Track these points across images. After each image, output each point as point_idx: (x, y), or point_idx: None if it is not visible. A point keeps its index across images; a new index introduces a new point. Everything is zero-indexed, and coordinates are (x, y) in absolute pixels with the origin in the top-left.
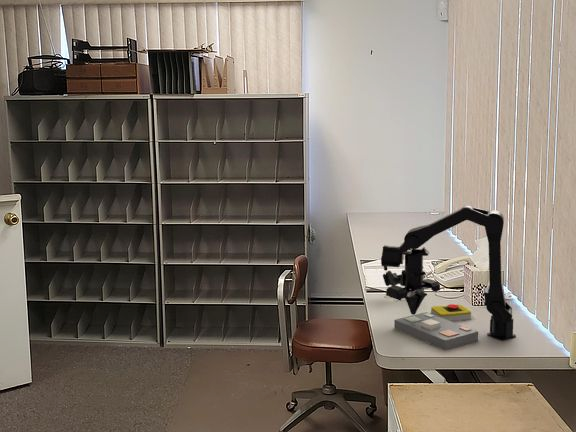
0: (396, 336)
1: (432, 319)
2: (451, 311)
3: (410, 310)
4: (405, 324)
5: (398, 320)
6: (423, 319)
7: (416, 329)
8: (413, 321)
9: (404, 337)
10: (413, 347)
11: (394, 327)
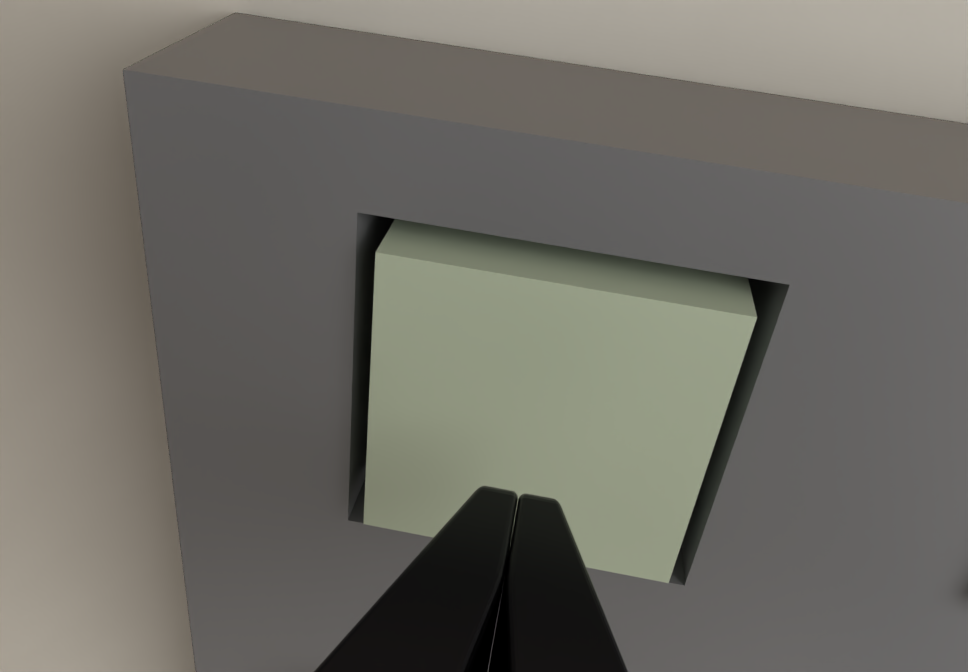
0: (21, 330)
1: (876, 667)
2: None
3: (422, 569)
4: (170, 453)
5: (182, 198)
6: (734, 556)
7: (202, 669)
8: (393, 519)
9: (115, 436)
10: (21, 664)
11: (226, 22)
